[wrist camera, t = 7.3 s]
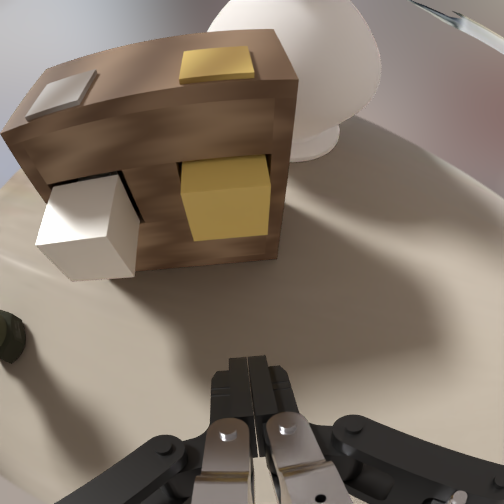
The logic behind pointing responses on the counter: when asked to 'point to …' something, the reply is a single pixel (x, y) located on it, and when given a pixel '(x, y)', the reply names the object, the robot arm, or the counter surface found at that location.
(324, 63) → the decorative vase
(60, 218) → the ivory button
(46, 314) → the counter surface
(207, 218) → the mustard button
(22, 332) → the grenade
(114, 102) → the brown wooden block
